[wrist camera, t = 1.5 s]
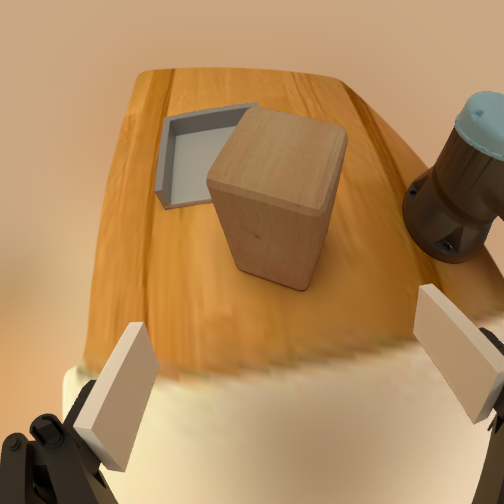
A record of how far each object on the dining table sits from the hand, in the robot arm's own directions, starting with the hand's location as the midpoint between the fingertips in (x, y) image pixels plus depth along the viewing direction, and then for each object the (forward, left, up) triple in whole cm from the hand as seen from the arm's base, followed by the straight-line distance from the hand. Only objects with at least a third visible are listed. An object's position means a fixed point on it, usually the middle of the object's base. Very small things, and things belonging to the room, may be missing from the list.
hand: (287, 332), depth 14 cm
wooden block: (-6, -14, -25) cm, 29 cm away
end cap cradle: (-2, -33, -25) cm, 42 cm away
